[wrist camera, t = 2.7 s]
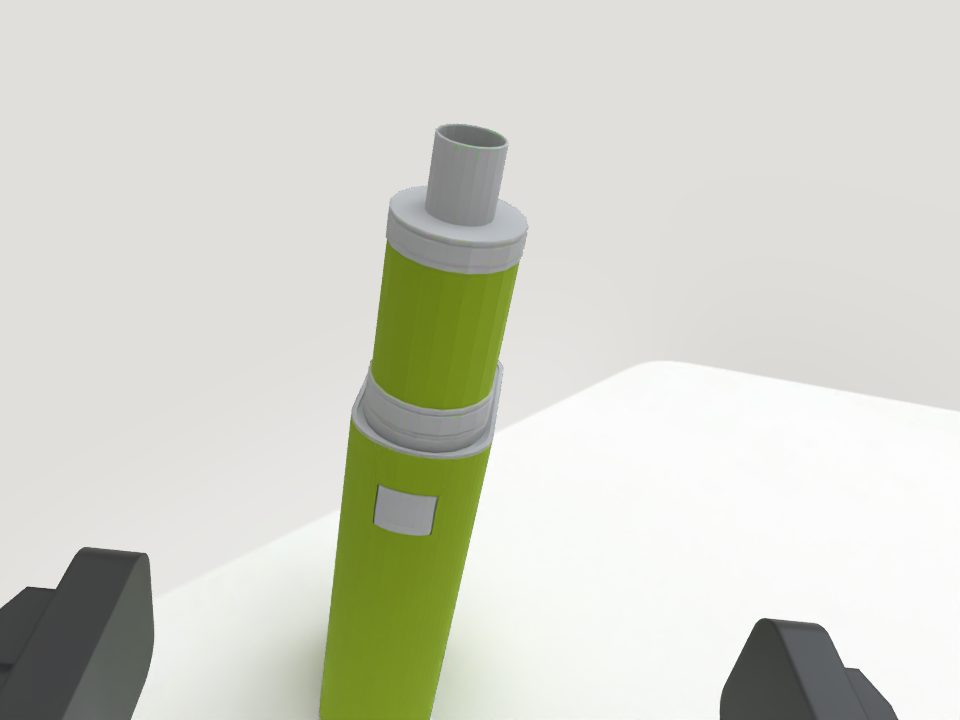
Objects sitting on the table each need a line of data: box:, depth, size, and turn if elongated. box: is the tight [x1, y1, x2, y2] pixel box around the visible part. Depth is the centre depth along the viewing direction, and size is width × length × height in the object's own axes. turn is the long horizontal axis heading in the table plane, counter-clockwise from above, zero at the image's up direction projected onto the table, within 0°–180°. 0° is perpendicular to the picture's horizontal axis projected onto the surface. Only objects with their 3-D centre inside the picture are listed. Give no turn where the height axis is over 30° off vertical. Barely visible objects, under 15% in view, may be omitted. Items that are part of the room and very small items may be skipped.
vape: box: [319, 124, 528, 720], centre depth 23 cm, size 4×6×20 cm, turn 174°
